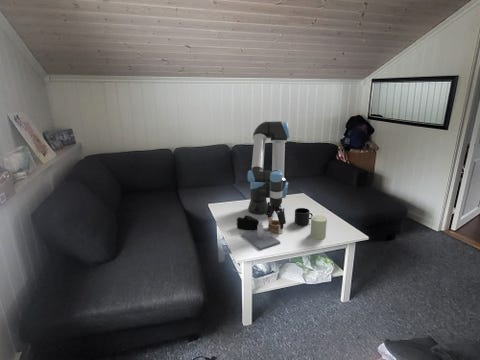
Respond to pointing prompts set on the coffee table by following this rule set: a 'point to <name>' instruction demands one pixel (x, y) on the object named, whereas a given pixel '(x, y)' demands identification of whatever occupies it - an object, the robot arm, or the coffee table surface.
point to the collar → (273, 226)
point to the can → (318, 227)
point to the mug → (302, 216)
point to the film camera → (247, 223)
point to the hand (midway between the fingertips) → (275, 229)
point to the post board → (262, 241)
